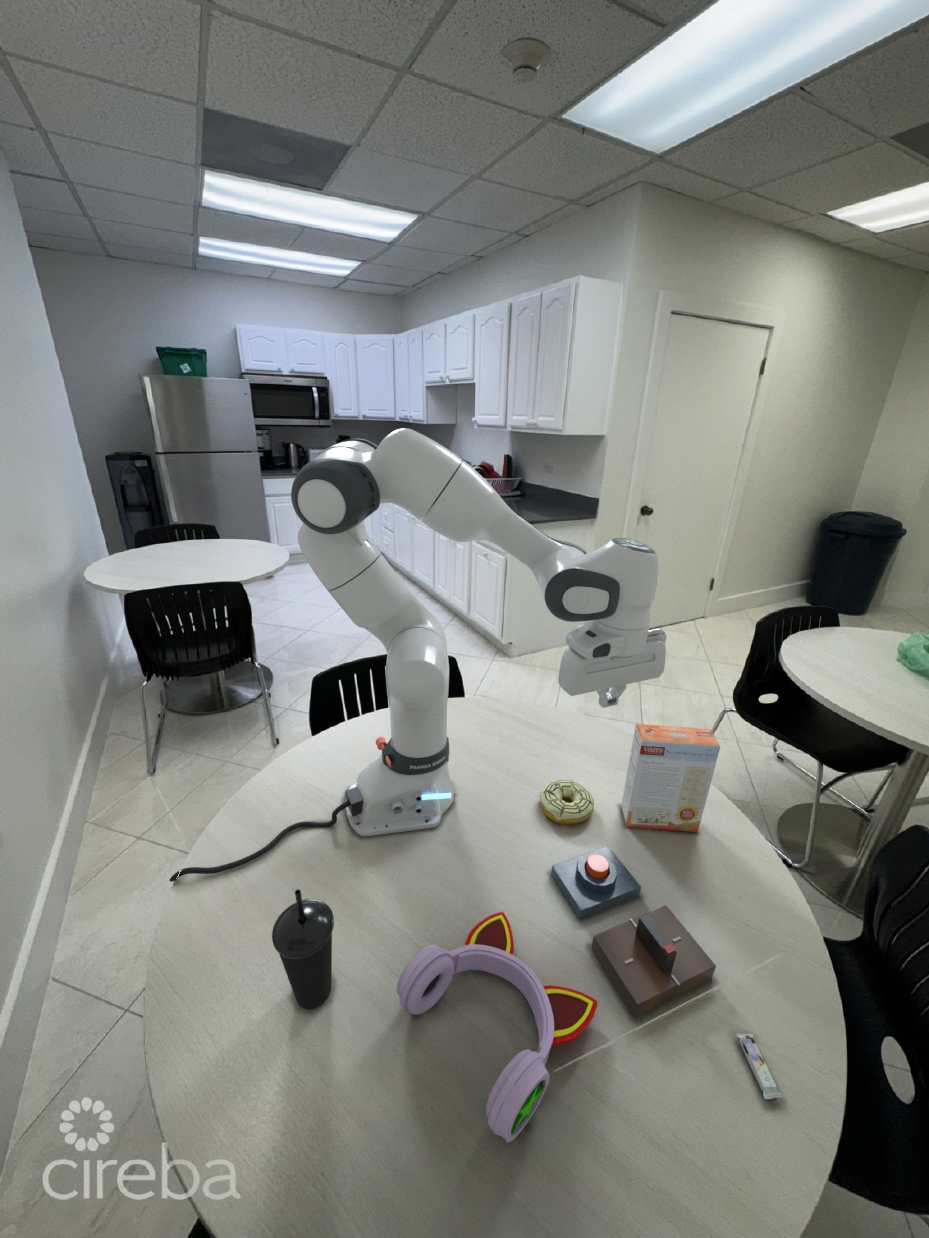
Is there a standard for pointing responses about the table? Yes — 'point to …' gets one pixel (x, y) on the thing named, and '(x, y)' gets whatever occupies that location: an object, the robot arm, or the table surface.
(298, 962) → the drinking cup
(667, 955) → the handle
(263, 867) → the table surface
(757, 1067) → the granola bar
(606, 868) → the button
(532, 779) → the table surface
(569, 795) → the decorated donut
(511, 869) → the table surface
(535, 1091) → the headphones
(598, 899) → the button box
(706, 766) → the cracker box
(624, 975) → the panel
